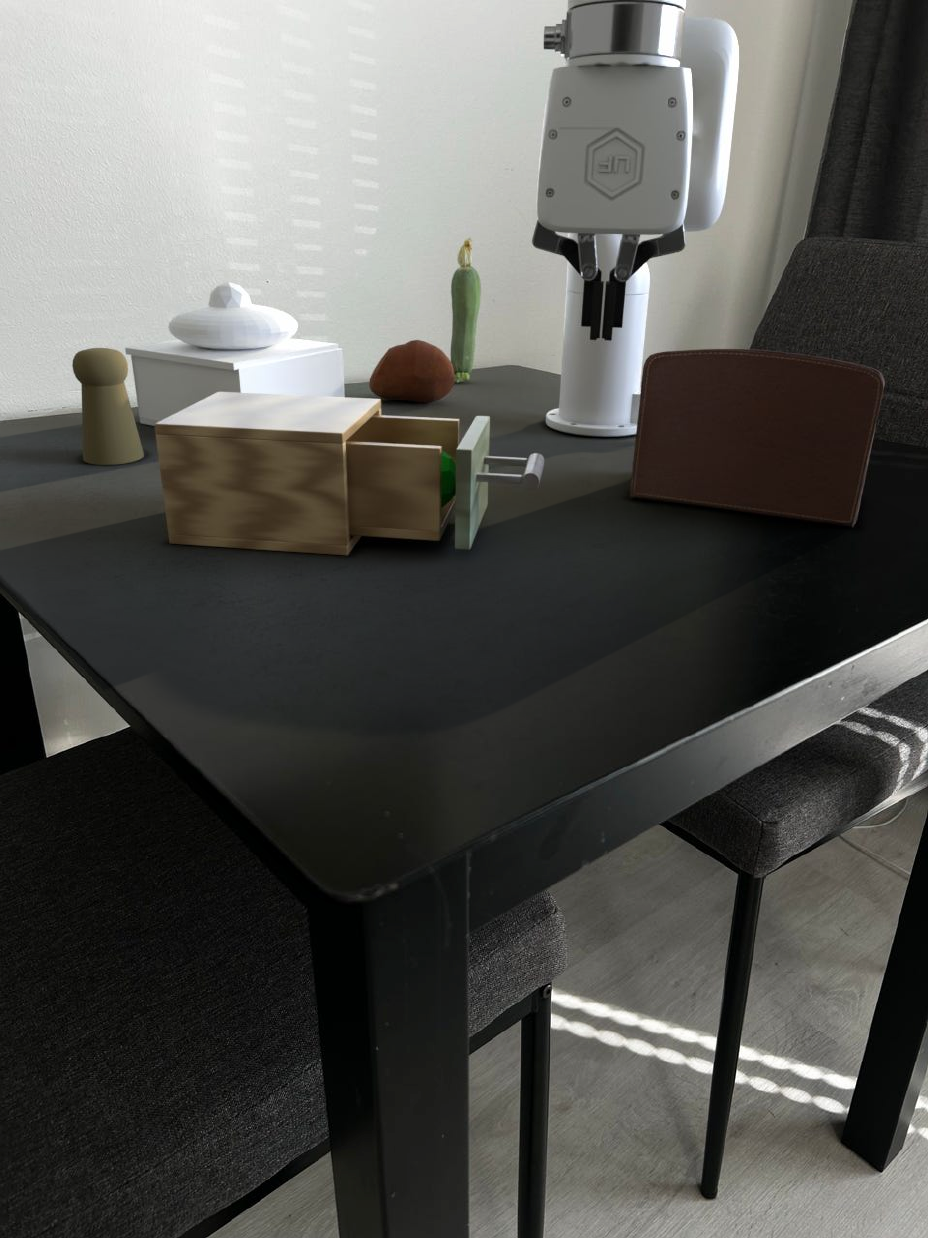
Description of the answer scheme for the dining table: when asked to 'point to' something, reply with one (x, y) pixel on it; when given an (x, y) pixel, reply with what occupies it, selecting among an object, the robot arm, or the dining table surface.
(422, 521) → the drawer
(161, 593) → the dining table surface
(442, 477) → the polyhedron
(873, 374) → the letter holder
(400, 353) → the potato
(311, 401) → the cabinet
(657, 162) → the robot arm
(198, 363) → the butter dish
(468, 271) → the vegetable
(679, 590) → the dining table surface
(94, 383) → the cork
